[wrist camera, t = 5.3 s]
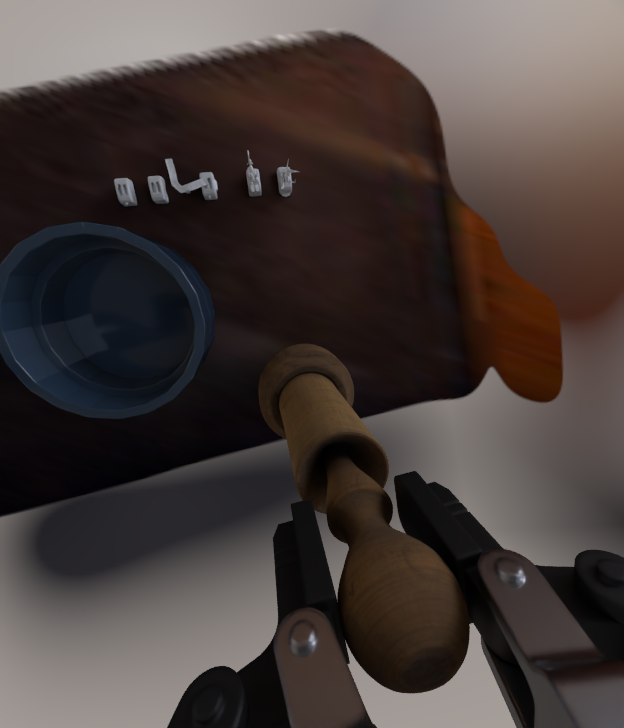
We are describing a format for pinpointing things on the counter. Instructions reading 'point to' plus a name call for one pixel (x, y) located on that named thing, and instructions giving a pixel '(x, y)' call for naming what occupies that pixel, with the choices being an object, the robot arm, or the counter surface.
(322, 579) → the robot arm
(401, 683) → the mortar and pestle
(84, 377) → the blue bowl
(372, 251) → the counter surface
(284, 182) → the figurines set
